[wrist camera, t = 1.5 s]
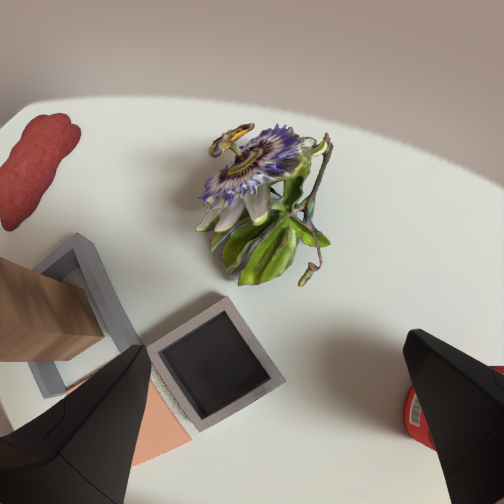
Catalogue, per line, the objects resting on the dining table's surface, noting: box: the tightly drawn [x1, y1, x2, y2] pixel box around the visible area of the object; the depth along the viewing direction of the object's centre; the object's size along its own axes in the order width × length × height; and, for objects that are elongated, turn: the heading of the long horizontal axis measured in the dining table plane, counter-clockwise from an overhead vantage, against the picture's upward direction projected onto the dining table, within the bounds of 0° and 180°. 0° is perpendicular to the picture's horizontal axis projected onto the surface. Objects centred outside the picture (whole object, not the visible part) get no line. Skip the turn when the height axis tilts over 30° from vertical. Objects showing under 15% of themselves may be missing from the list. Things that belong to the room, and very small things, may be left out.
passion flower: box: [195, 123, 333, 287], centre depth 22 cm, size 11×11×12 cm
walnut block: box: [0, 257, 105, 362], centre depth 17 cm, size 5×5×13 cm
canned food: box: [404, 366, 504, 452], centre depth 15 cm, size 8×8×11 cm
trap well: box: [146, 296, 286, 432], centre depth 22 cm, size 8×8×2 cm
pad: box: [66, 378, 191, 467], centre depth 21 cm, size 9×9×1 cm
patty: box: [0, 113, 81, 231], centre depth 28 cm, size 18×14×2 cm
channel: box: [28, 233, 142, 399], centre depth 22 cm, size 11×11×3 cm
